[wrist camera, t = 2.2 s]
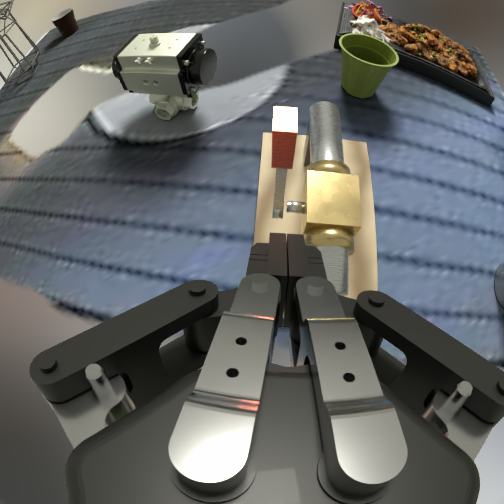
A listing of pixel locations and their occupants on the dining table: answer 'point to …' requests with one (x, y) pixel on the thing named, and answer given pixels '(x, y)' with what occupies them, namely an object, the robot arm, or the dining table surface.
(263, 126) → the dining table surface
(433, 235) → the dining table surface
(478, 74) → the food platter
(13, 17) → the geometric lantern
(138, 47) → the ball valve
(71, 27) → the coffee mug
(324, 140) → the valve body
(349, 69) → the plant pot
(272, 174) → the mounting board
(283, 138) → the valve lever
